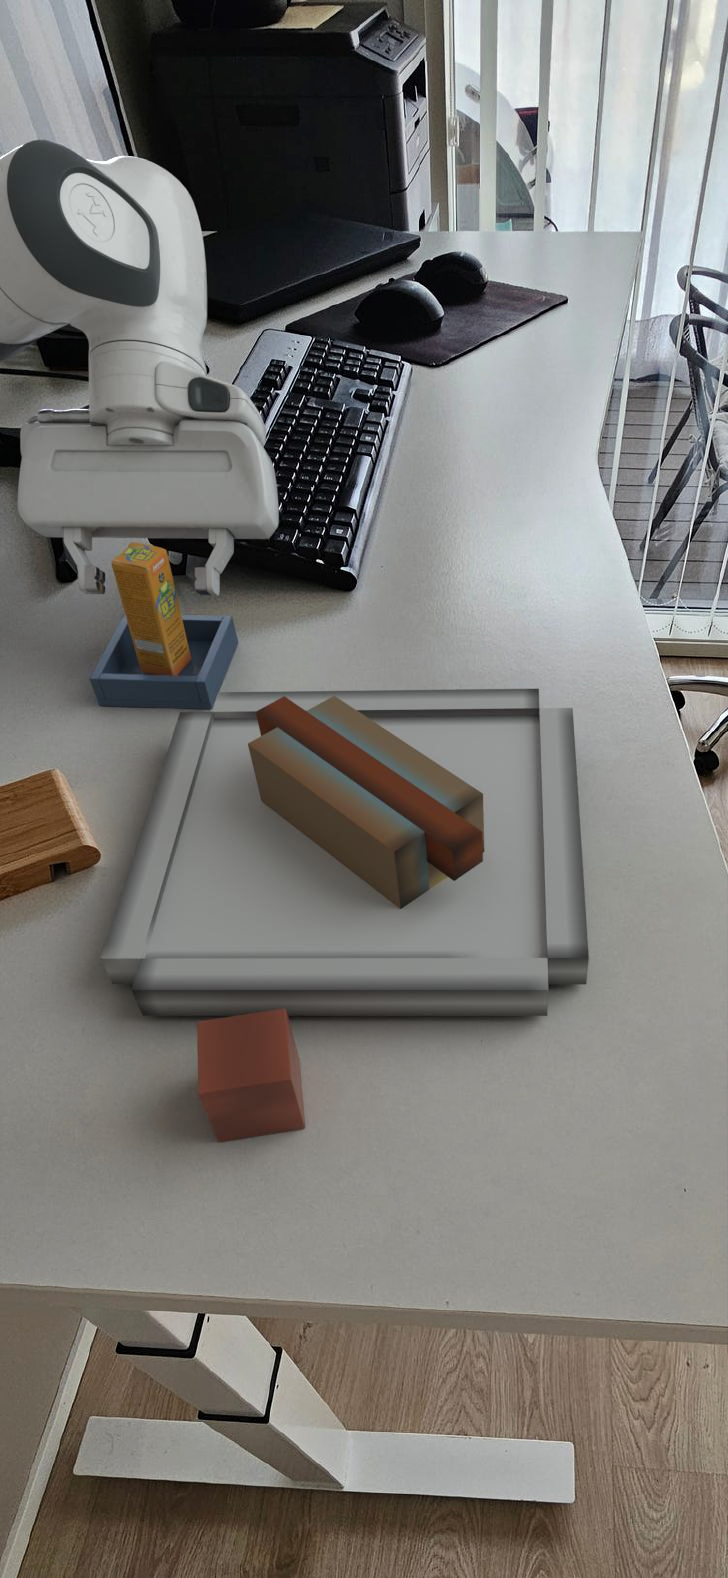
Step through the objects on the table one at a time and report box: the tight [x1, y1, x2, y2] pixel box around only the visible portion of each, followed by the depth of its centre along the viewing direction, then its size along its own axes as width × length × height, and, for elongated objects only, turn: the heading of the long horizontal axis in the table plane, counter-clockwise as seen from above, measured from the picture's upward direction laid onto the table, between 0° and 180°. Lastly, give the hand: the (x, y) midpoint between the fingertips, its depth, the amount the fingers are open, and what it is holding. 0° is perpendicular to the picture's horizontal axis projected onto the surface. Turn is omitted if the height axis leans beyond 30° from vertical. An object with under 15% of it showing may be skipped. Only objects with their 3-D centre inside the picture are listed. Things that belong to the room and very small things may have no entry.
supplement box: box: [111, 541, 191, 676], centre depth 84 cm, size 3×3×10 cm
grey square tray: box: [99, 688, 590, 1017], centre depth 70 cm, size 30×30×8 cm
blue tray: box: [88, 613, 239, 710], centre depth 87 cm, size 10×10×3 cm
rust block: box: [196, 1009, 306, 1143], centre depth 59 cm, size 5×5×5 cm
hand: (149, 593), depth 83 cm, fingers open, 8 cm apart
